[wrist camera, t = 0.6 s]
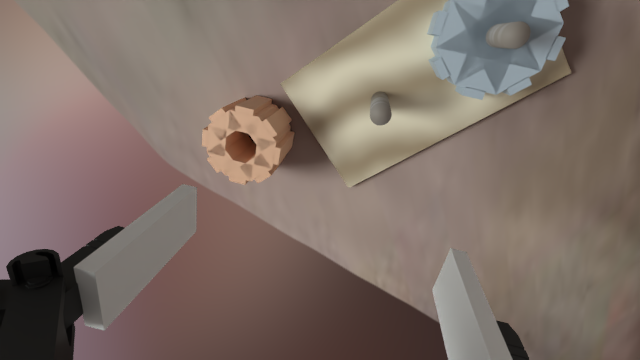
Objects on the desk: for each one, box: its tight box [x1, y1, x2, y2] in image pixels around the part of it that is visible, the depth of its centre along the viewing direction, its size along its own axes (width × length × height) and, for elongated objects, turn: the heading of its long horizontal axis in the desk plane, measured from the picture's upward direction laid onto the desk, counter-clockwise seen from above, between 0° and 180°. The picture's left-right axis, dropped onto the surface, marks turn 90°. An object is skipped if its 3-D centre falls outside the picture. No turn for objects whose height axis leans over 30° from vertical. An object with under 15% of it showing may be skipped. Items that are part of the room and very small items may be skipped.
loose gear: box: [202, 95, 295, 185], centre depth 35 cm, size 8×8×6 cm
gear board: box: [281, 0, 571, 188], centre depth 29 cm, size 14×24×8 cm, turn 123°
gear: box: [427, 0, 569, 100], centre depth 28 cm, size 10×10×3 cm
